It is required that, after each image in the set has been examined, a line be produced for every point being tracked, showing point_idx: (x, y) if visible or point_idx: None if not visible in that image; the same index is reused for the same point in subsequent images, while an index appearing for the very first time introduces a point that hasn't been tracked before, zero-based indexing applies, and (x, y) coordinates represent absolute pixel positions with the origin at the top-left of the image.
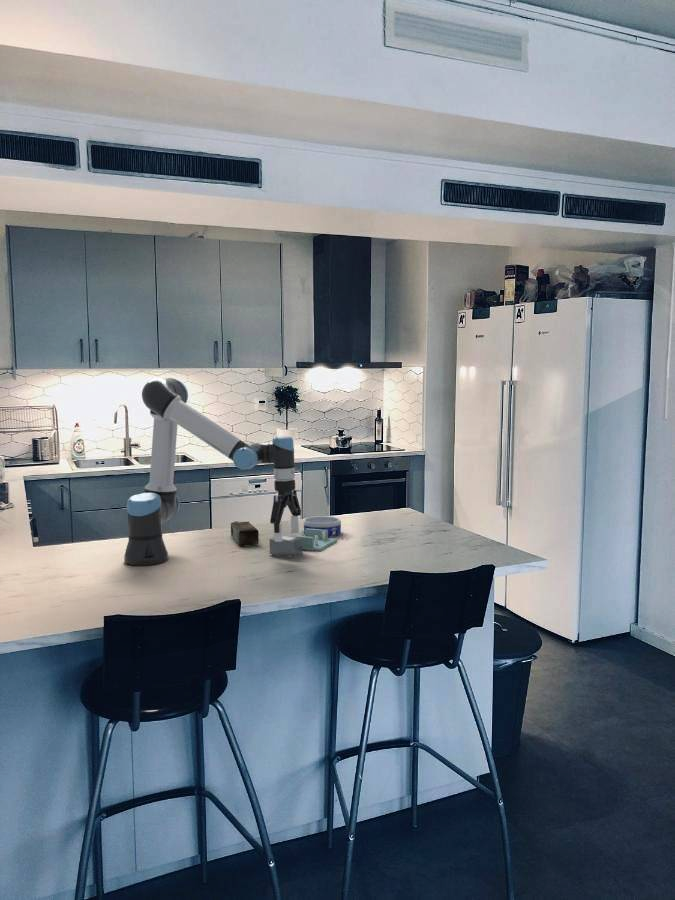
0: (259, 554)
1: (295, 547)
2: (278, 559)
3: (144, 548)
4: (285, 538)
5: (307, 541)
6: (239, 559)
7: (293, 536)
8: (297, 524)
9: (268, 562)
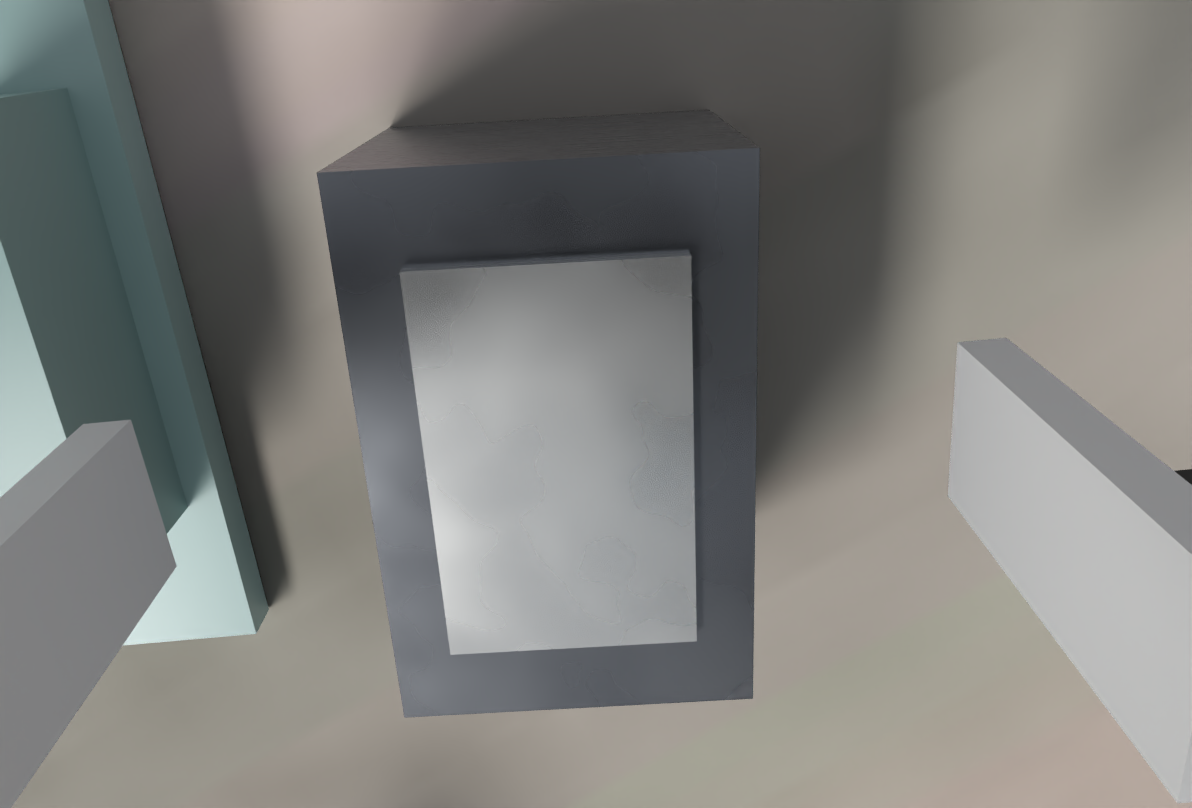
0: None
1: (669, 131)
2: (911, 286)
3: None
4: (614, 452)
5: (42, 214)
6: (1066, 742)
7: None
8: (13, 538)
9: (1124, 329)
